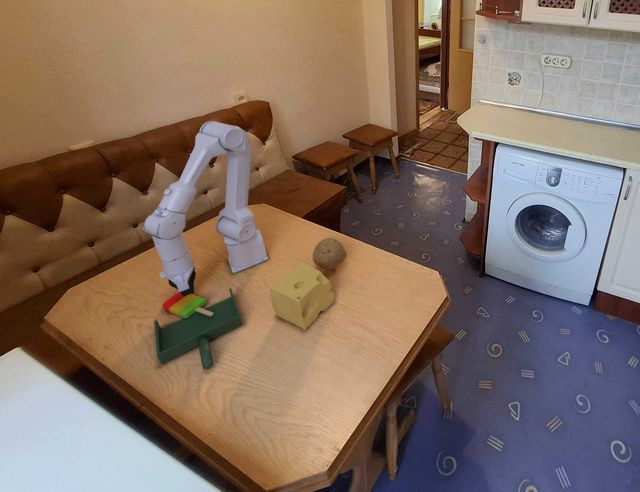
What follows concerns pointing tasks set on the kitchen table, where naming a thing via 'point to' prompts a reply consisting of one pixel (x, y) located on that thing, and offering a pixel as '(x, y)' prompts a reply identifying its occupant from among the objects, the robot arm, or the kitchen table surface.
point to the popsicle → (186, 305)
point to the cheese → (301, 295)
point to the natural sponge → (329, 253)
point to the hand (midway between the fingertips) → (189, 294)
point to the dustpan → (197, 332)
